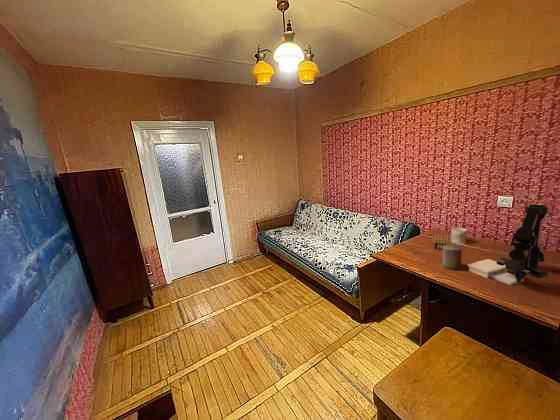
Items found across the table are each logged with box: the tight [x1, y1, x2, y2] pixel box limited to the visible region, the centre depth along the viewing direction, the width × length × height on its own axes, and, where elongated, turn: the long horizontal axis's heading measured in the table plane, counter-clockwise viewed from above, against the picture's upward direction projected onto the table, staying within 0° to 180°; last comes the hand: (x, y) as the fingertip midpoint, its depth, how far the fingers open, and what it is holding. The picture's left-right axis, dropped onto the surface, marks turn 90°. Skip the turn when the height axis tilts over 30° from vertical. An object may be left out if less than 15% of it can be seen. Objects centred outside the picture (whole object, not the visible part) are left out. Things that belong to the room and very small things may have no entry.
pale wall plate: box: [489, 270, 525, 286], centre depth 131 cm, size 10×14×2 cm
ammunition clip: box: [433, 234, 453, 251], centre depth 173 cm, size 11×2×12 cm, turn 55°
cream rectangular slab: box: [467, 258, 508, 279], centre depth 137 cm, size 17×11×4 cm, turn 105°
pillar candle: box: [442, 244, 463, 271], centre depth 146 cm, size 10×10×15 cm
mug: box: [450, 227, 468, 245], centre depth 184 cm, size 10×12×11 cm
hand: (518, 281), depth 123 cm, fingers closed
